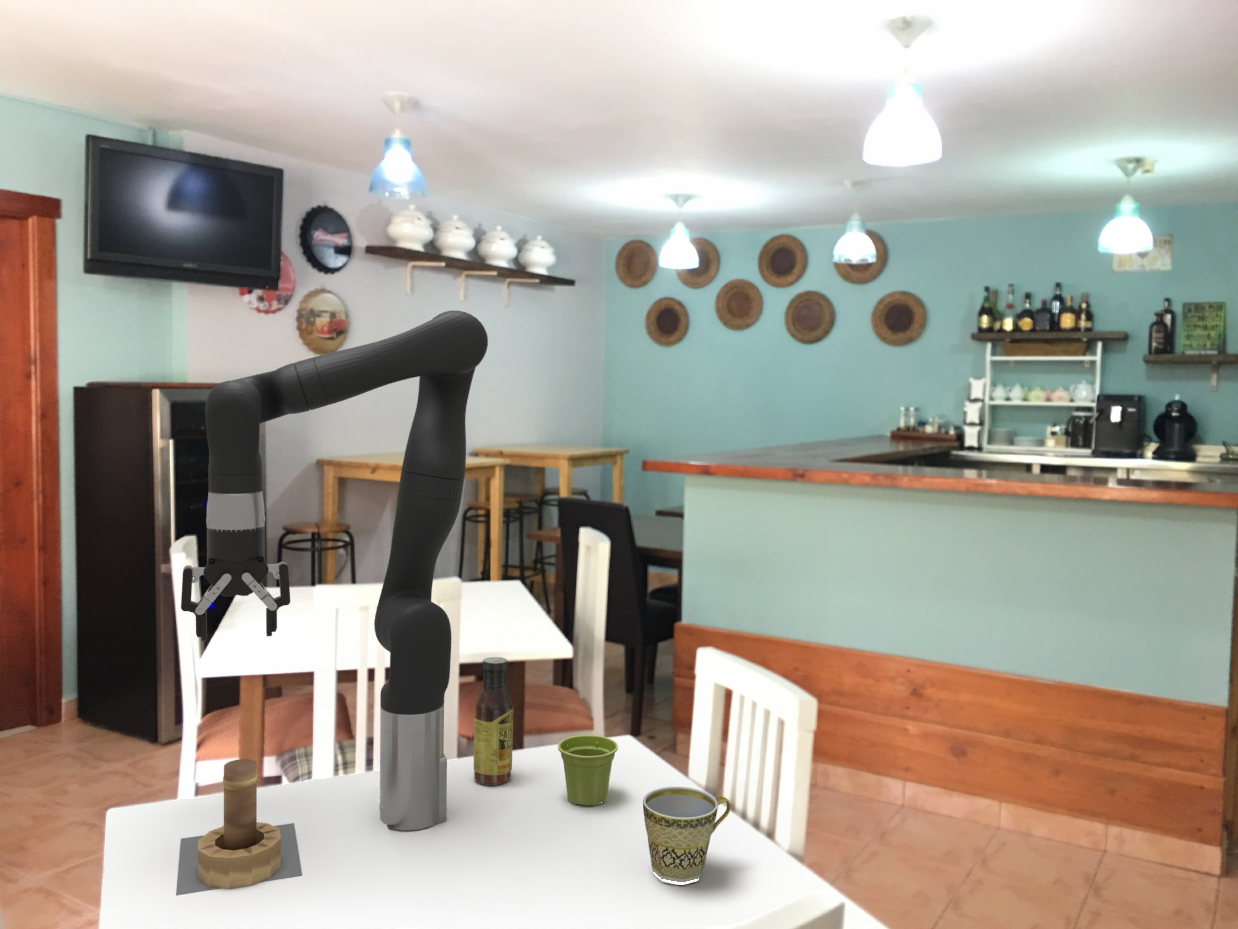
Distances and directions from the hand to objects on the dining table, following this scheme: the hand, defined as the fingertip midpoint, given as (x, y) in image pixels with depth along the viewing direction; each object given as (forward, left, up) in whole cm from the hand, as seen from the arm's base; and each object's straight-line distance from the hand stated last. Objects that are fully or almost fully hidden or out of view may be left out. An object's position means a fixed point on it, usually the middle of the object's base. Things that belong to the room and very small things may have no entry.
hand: (236, 637), depth 139 cm
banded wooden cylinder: (0, +13, -28) cm, 31 cm away
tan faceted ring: (0, +13, -28) cm, 31 cm away
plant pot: (-51, +6, -28) cm, 59 cm away
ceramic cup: (-56, +32, -28) cm, 70 cm away
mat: (0, +10, -28) cm, 30 cm away
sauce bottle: (-39, -6, -28) cm, 49 cm away
